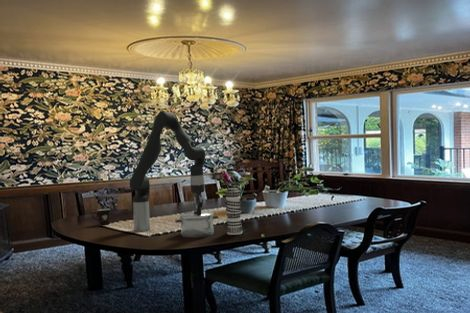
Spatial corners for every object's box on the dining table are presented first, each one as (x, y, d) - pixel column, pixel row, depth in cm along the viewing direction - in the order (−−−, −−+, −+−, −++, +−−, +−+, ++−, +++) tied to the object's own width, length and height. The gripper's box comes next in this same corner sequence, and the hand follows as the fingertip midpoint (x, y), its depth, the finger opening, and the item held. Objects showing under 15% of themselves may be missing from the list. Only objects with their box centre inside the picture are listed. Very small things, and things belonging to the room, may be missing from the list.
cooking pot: (179, 239, 233) (178, 220, 232) (173, 233, 250) (172, 216, 249) (222, 234, 240) (221, 216, 240) (213, 228, 257) (212, 212, 257)
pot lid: (183, 220, 233) (183, 215, 233) (176, 215, 252) (176, 210, 252) (217, 216, 239) (217, 211, 239) (208, 212, 258) (207, 207, 258)
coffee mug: (113, 223, 294) (112, 208, 293) (108, 225, 285) (107, 210, 285) (97, 223, 295) (96, 208, 295) (91, 226, 286) (90, 211, 286)
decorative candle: (233, 230, 249) (231, 187, 248) (246, 232, 243) (244, 187, 242) (223, 233, 242) (220, 188, 241) (235, 235, 236) (233, 189, 235)
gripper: (187, 183, 244) (189, 214, 245) (193, 185, 232) (195, 217, 233) (201, 182, 247) (202, 212, 247) (207, 184, 234) (208, 216, 235)
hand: (199, 215), depth 240 cm, fingers closed
